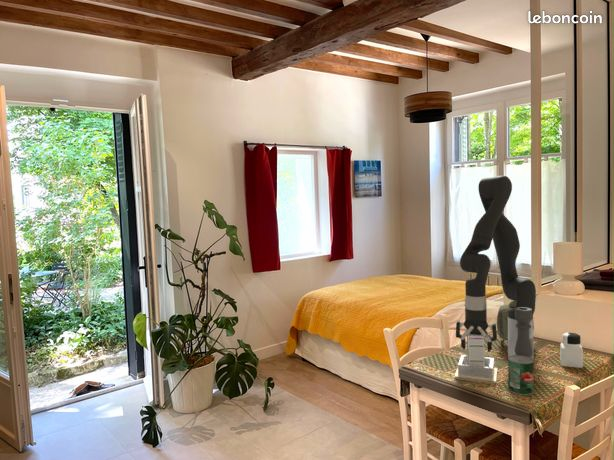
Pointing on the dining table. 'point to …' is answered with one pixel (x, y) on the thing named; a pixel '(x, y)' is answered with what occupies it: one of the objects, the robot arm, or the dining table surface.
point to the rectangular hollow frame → (476, 371)
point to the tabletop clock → (504, 320)
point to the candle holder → (523, 331)
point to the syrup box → (475, 350)
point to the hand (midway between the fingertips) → (476, 350)
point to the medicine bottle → (571, 351)
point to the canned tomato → (520, 375)
